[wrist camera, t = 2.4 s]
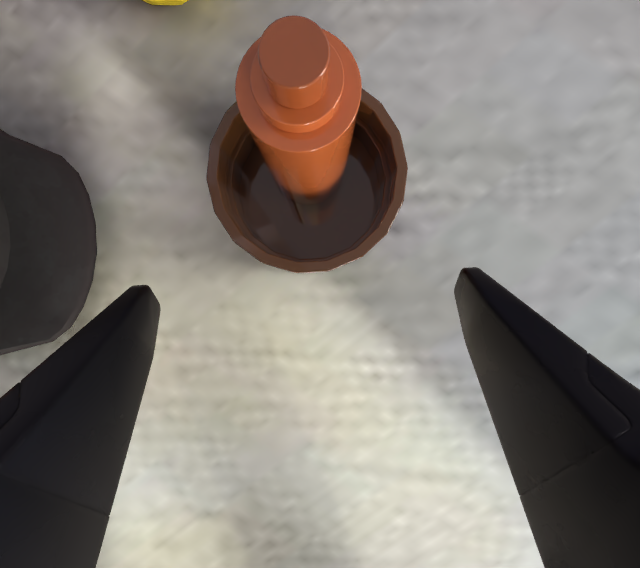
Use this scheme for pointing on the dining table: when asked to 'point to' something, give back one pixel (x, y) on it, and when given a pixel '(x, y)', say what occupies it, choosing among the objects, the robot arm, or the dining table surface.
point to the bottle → (300, 106)
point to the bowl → (309, 219)
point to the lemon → (165, 2)
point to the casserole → (41, 245)
